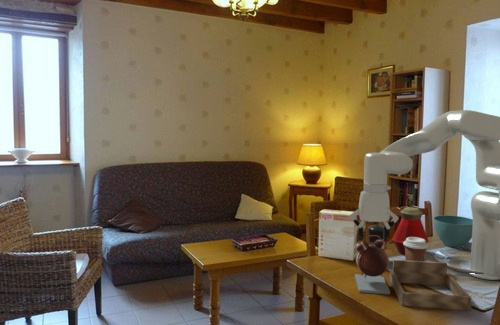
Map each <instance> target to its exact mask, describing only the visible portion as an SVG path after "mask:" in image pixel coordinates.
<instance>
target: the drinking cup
mask: <svg viewBox="0 0 500 325" xmlns="http://www.w3.org/2000/svg"><path fill="white" fill-rule="evenodd" d="M379 223H380V222H376V224H372V225H369V226H368V227H367V230H368V235H378V236H380V238H381V239H383V228H384V226H385V225H381V224H379ZM380 238H379V237H377V236H369V237H368V239H369V243H368V244H370V242H375V241H376V240H380ZM384 242H386V241H385V240H384ZM374 245H375V244H374Z"/></svg>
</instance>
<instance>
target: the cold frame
mask: <svg viewBox="0 0 500 325" xmlns="http://www.w3.org/2000/svg"><path fill="white" fill-rule="evenodd" d="M389 283H390V285H391V287H392V289H393V291H394V292H395V295H396V297H397V299H398V301H399V303H400V305H401V306H402V307H403V306H404V307H415V308H416V307H417V308H431V309H441V310H442V309H445V310H457V311H458V310H459V311H460V310H461V311H469V312H470V311H471V310H472V309H471V308H472V305H471V304H472V297H471V296H470V295H469V293H467V291H465V289H464V288H463V287H462V286H461V285H460V284H459V283H458V282H457V281H456V280H455V279H454V278H453V277H452V275H451V274H450V273H448V263H447V262H443V261H409V260H406V259H403V260H402V259H392V270H389ZM402 284H415V285H429V286H430V285H431V286H446V287H447V288H448V289H449V291H450V292H451V293H452V294H453V295H451V294H441V293H440V294H439V293H425V292H424V293H421V292H411V291H410V292H408V291H405V290H404V287H403V286H402Z"/></svg>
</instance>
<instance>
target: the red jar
mask: <svg viewBox="0 0 500 325" xmlns="http://www.w3.org/2000/svg"><path fill="white" fill-rule="evenodd" d="M399 213H400V215H401V219H400V221H399V224H398V226H397V228H396V230H395V231H394V233H393V236H392V238H391V241H392V242H393V244H394V246H395V248H396V251H397V252H398V253H399V254H400V255H402V256H405V246H404V245H403V242H404V241H405V240H406V238H408V237H418V238H422V239H424V240H425V241H426V243H427V244H428V242H429V239H428V236H427V235H428V234H427V233H426V230H425V228H424V225H423V221H422V219H421V218H422V216H423V214H424V212H423V211H422V210H421V209H420V208H419V207H411V206H410V207H405V208H403V209H402V210H401V211H399Z"/></svg>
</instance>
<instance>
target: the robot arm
mask: <svg viewBox="0 0 500 325" xmlns="http://www.w3.org/2000/svg"><path fill="white" fill-rule="evenodd" d="M455 136H463V137H464V138H466V140H468V141H469V142H470V143H471V144H472V146H473V148H474V151H475V181H476V183H477V185H479V187H482V188H484V189H489V190H495V191H498V192H494V191H487V190H482V191H478V192H476V193H475V194H474V195H473V196H472V197H471V200H470V209H471V216H472V219H473V230H472V238H471V248H470V249H471V250H470V263H469V265H468V266H466V267H469V266H470V269H471V270H474V271H479V272H483V273H484V274H475V273H469V274H468V275H470V276H472V277H475V278H478V279H482V280H487V281H488V280H489V281H499V280H500V116H499V115H493V114H488V113H485V112H480V111H476V110H470V109H467V110H466V109H465V110H464V109H461V110H449V111H447V112H444V113H443V114H441V115H440V116H438V117H437V118H436V119H433V120H432V121H431V122H430V123H429V124H426V126H424V127H423V128H421V129H419V130H418V131H415V132H414V133H410V134H409V135H407V136H405V137H402V138H400V139H399V140H396V141H394V142H393V143H391V144H389V145H388V146H387V147H384V149H383V150H381V151H380V152H368V153H365V156H364V162H363V163H364V164H363V165H364V167H363V190H362V191H360V195H359V202H358V209H356V210H355V211H352V212H353V213H352V214H350V218H351V219H352V220H353V222H354V223H355V224H356V225H357V229H358V231H357V235H358V237H359V238H360V240H362V239H363V237H364V224H365V223H366V222H373V223H375V222H376V223H377V222H379V223H383V226H384V228H383V239H384V240H385V242H386V241H388V238H389V237H390V236H389V235H390V229H391V228H392V227H393V226H394V225H395V224H396V223H397V222H398V220H399V216H398V215H396V214H395V213H394V212H392V211H391V210H390V196H389V193H388V191H389V190H392V186H391V185H388V184H387V182H388V174H392V175H404V174H408V173H409V172H410V171H411V170H412V168H413V165H414V162H413V160H412V159H413V158H412V156H416V155H420V154H427V153H430V152H433V151H435V150H437V149H438V148H440V147H441V146H443V144H445V143H447V142H448V141H449V140H451V139H452V138H454V137H455ZM356 215H357V217H358V218H359V220H358V219H357V220H356V218H355V216H356ZM391 217H392V219H391V220H390V218H391Z"/></svg>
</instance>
